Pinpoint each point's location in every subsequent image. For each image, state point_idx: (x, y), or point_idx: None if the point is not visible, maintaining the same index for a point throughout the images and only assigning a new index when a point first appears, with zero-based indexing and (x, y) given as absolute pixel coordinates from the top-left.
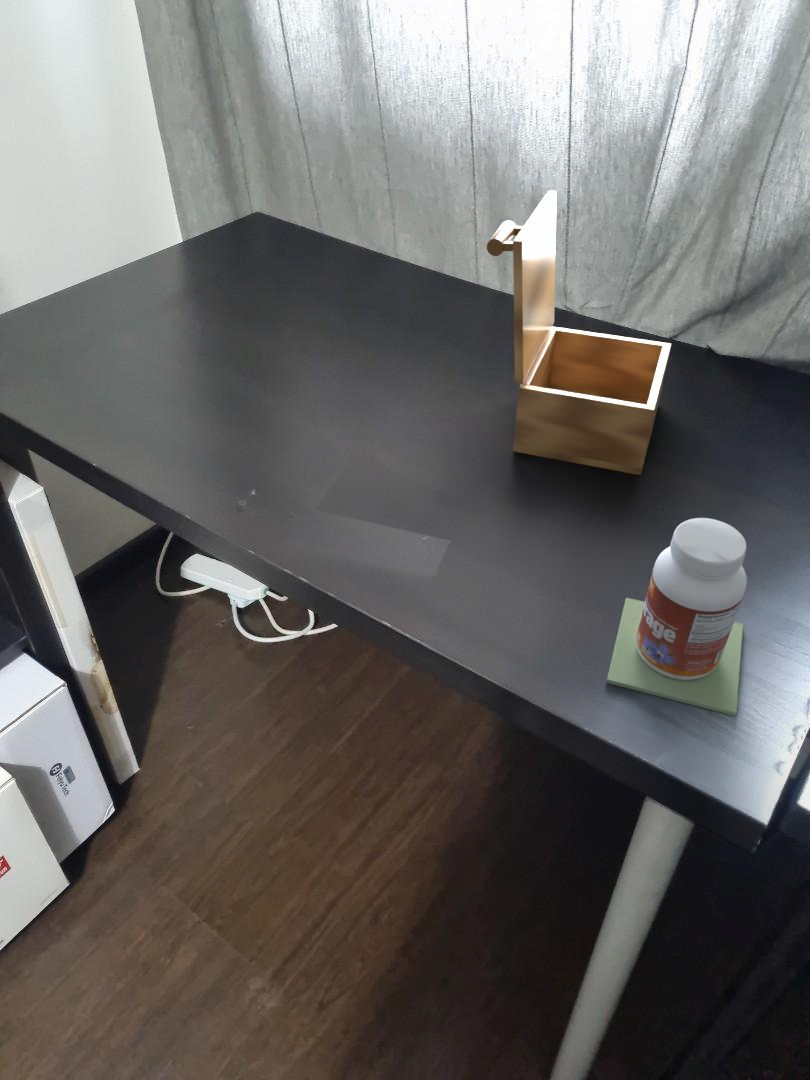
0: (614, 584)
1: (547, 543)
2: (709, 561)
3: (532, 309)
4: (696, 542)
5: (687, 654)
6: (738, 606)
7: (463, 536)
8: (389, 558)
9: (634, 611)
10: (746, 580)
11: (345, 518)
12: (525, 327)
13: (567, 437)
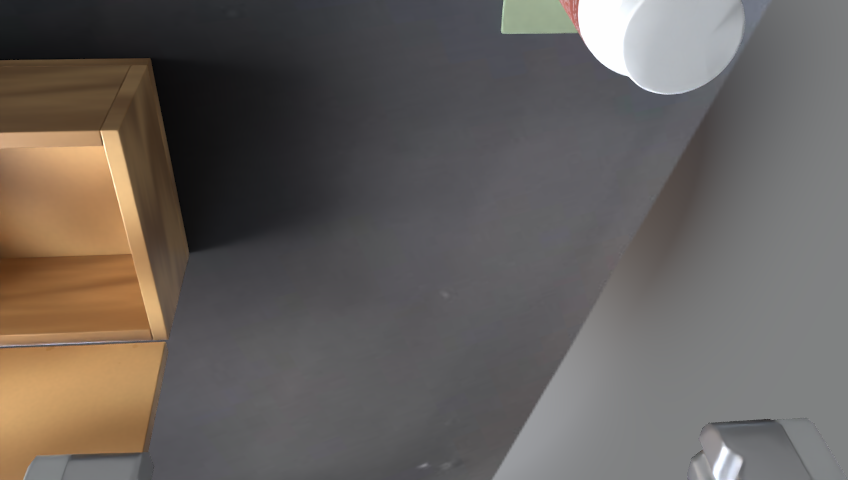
0: (466, 51)
1: (402, 158)
2: (742, 34)
3: (64, 440)
4: (693, 59)
5: None
6: None
7: (425, 257)
8: (497, 315)
9: (530, 17)
10: None
11: (437, 377)
12: (127, 427)
13: (167, 210)
